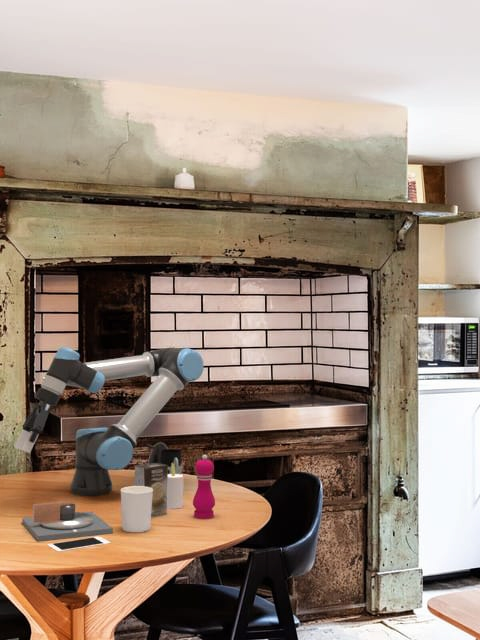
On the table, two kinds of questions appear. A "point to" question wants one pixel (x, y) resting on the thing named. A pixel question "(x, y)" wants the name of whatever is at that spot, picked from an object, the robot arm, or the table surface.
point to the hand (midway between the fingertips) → (21, 450)
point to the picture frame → (172, 459)
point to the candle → (174, 490)
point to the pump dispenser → (156, 452)
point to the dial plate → (53, 534)
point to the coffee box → (154, 484)
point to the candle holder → (136, 508)
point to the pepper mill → (204, 489)
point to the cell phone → (78, 543)
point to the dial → (60, 516)
